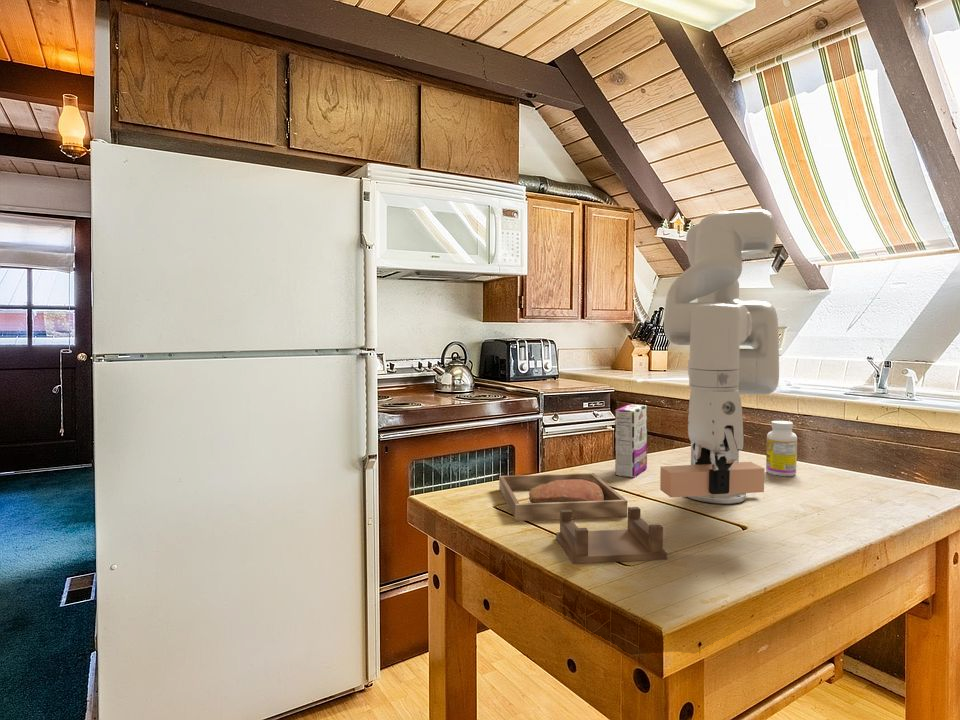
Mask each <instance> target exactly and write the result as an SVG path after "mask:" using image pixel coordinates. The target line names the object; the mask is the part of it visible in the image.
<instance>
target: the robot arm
mask: <svg viewBox="0 0 960 720" xmlns="http://www.w3.org/2000/svg"><path fill="white" fill-rule="evenodd" d="M777 233H778V231H777V224H776V220H775V218H774V215H773V214H772V213H771V212H770V211H768V210H765V209H761V208H759V209H748V210H747V209H744V210H730V211H719V212H715V213H710V214H708V215H706V216H705V217H703V218H702V219H701V220H700V222H699V223H696V224H695V225H693V226H691V227H690V228H689V229H688V231H687V233H686V237H685V238H686V239H685V246H686V253H687V254H686V255H687V258H688V262H689V265H690V267H688V268H687V269H685V270H684V271H683V272H682V273H680V275H679V276H678V277H677V278H676V279H675V280H674V281H673V283H672V284H671V285H670V287H669V289H668V292H667V295H666V299H665V305H664V314H663V331H664V335H665V338H666V339H667V341H669V343H671V344H673V345H677V346H689V359H688V362H687V375H688V381H689V382H688V383H689V384H688V387H689V389H690V394H689V401H688V416H687V433H688V438H689V441H690V465H702V464H712V469H709V493H711V494H722V495H705V496H687V498H689V499H692V500H695V501H698V502H702V503H703V502H704V503H710V504H720V505H721V504H722V505H724V504H725V505H727V504H728V505H731V504H738V503H742V502H745V500H746V499H747V493H739V494H727V493H729V481H730V470H731V469H732V464H733V463H739V460H740V455H739V453H740V452H741V451H742V450H743V448H744V419H743V406H742V398H741V395H750V396H752V395H754V396H755V395H757V396H759V395H760V396H761V395H762V396H763V395H770V394H773V393H774V392H775V391H776V390H777V388H778V386H779V381H780V351H779V350H780V346H779V339H780V338H779V319H778V313H777V311H776V308H775V307H774V305H773V304H771V303H770V302H768V301H762V300H746V301H745V300H740V282H739V278H740V277H741V274H742V273H743V272H742V271H743V259H760V258H762V259H763V258H765V257H767V256H768V255H769V254H771V252H772V251H773V249H774V248H775V245H776V241H777ZM694 300H696V301H697V302H694ZM740 346H745V347H746V346H747V347H748V346H750V347H752V348H741V347H740Z"/></svg>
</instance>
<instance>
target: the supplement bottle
mask: <svg viewBox="0 0 960 720" xmlns="http://www.w3.org/2000/svg"><path fill="white" fill-rule="evenodd" d="M793 428H794V423H793V422H792V421H789V420H788V421H787V420H772V421H771V429H772V430H771V431H769V432H768V433H766V454H765V455H766V459H765V461H766V463H765V470H766V472H767V473H768V474H769V475H771V476H776V475H778V476H777V477H786V476H788V477H794V476H795V475H796V474H797V464H798V462H797V461H798V458H797V457H798V456H797V453H798V447H797V446H798V436H797V434H796V433H795V432H793Z"/></svg>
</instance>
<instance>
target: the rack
mask: <svg viewBox="0 0 960 720" xmlns="http://www.w3.org/2000/svg"><path fill="white" fill-rule="evenodd" d="M555 539H556V540H557V542H558V543H559V545H560V546H561V548H562V549H563V551H564V552H565V554H566V555H567V556H568V558H569V560H570V561H571V562H572V564H573V565H574V564H575V565H577V564H593V563H595V564H596V563H597V564H599V563H615V562H617V563H618V562H619V563H620V562H632V561H633V562H637V561H656V560H657V561H658V560H667V559H668V552H667V551H665V549H663V545H664V544H663V543H664V526H663V525H661V524H649V523H648V522H647V521H645V520H644V519H643V518H641V508H640V507H639V506H630V507H629V506H627V528H626V529H624V528H623V529H604V530H588V528H587V527H579V526H577V525H576V523H575V522H574V521H573V519H572V511H571V510H560V519H559V532H557V531H556V533H555Z"/></svg>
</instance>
